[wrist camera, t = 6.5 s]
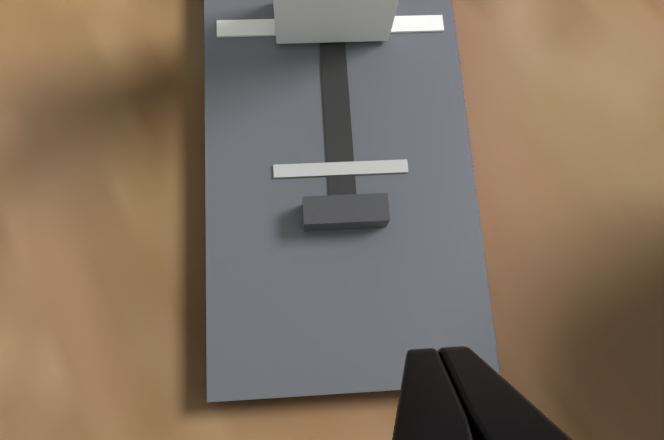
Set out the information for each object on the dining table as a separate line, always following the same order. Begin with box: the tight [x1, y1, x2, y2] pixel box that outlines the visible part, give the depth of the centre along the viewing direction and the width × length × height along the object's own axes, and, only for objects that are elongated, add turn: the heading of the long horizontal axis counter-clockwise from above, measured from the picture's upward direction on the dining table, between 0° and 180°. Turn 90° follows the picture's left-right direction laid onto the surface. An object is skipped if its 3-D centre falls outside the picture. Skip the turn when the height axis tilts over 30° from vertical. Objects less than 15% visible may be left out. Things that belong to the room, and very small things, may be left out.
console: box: [204, 0, 500, 402], centre depth 22 cm, size 18×10×2 cm, turn 3°
